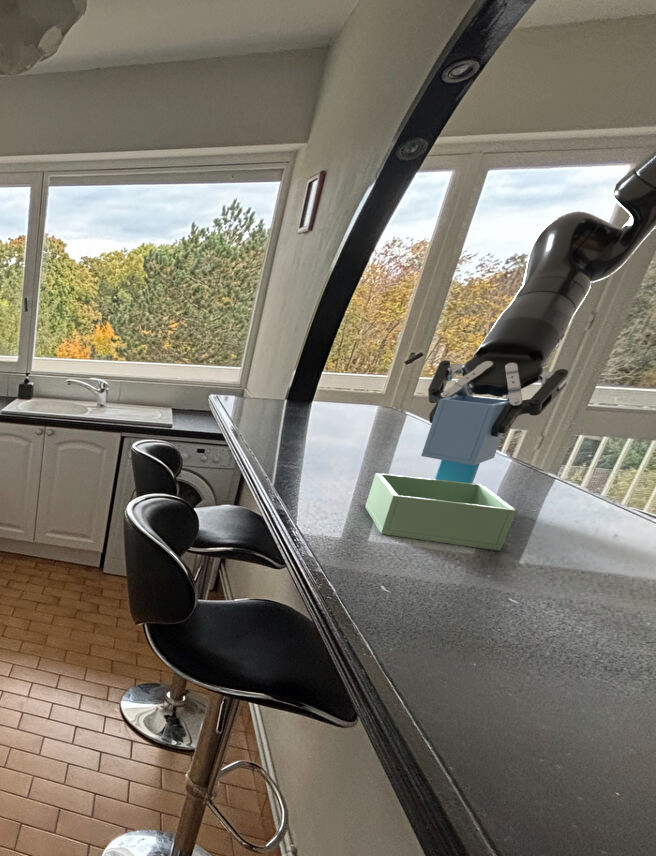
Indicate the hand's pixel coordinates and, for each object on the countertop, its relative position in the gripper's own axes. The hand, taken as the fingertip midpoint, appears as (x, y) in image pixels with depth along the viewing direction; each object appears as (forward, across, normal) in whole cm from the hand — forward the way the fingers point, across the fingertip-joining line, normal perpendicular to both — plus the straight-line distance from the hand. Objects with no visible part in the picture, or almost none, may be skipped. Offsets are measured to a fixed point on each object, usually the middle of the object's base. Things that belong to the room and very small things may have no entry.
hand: (463, 427), depth 81 cm
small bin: (+2, 0, +4) cm, 5 cm away
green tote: (+10, 0, +11) cm, 15 cm away
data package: (-1, -3, +23) cm, 23 cm away
